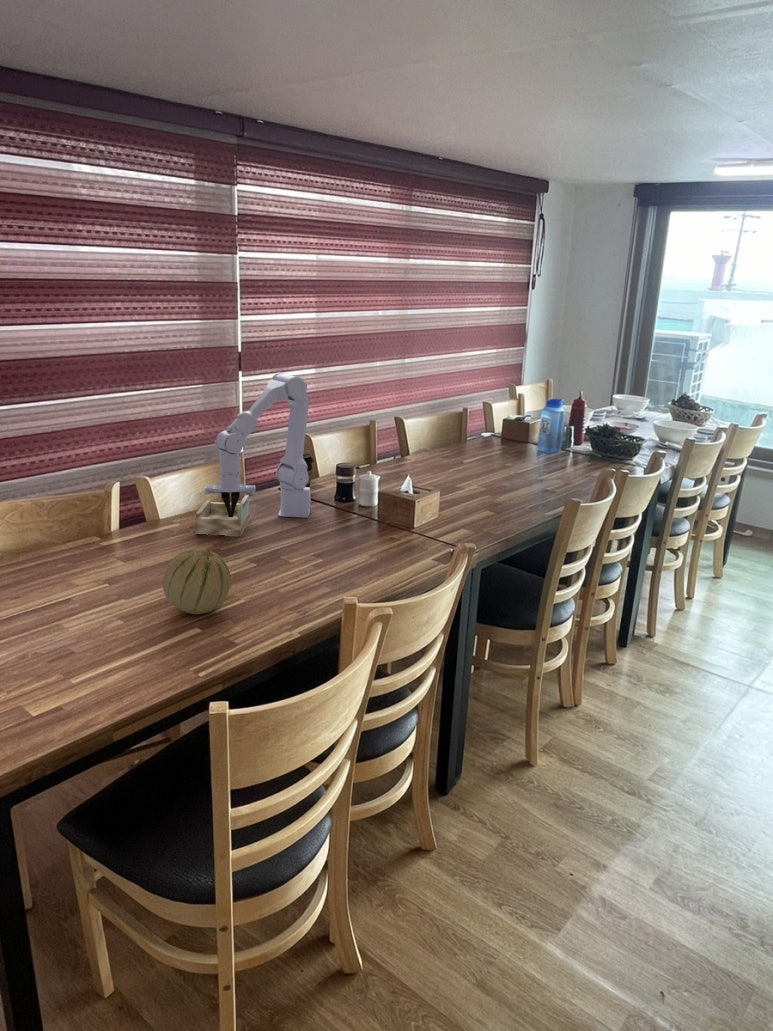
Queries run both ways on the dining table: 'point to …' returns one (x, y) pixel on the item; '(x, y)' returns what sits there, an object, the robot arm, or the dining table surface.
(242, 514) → the pale green flat slab
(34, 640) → the dining table surface
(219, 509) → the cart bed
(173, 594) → the cantaloupe
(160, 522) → the dining table surface
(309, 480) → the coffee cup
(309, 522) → the dining table surface
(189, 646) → the dining table surface
